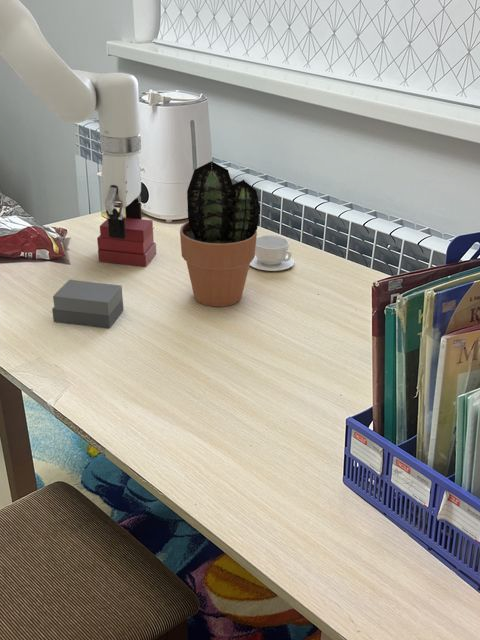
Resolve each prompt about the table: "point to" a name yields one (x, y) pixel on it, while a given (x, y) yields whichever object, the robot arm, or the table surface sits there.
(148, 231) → the burgundy book
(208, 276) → the potted plant
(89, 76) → the robot arm
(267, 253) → the teacup
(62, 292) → the grey book stack
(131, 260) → the burgundy book stack
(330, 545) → the table surface
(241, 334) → the table surface
